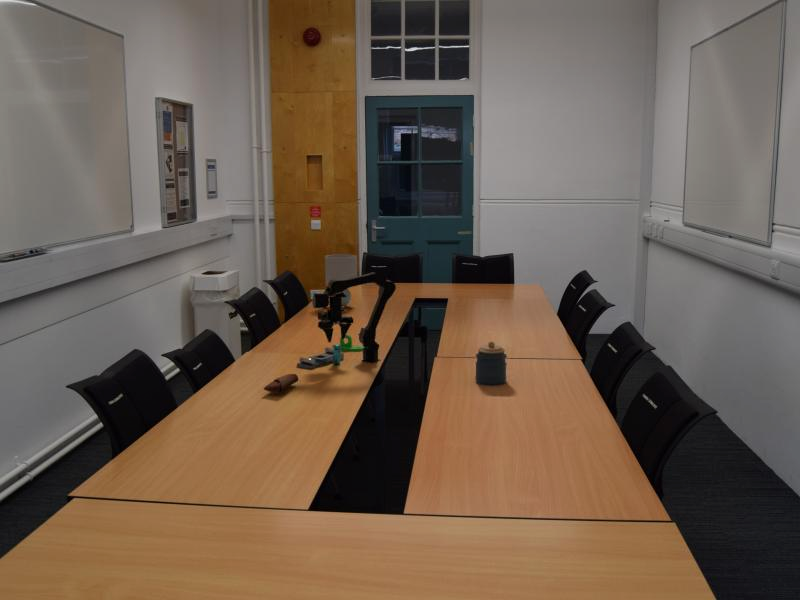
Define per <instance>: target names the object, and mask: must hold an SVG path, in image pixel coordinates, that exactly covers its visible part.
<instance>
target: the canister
mask: <svg viewBox="0 0 800 600" xmlns="http://www.w3.org/2000/svg"><path fill="white" fill-rule="evenodd" d="M487 343H488V344H486V345H485V344H484V345H481V346H480V347H478V348H477V353H476V354H475V357H476V361H475V377H474V378H475V379H474V380H475V383H476V384H478V385H482V386H489V387H490V386H491V387H494V386H495V387H496V386H502V385H505V384H506V382H507V364H508V363H507V362H506V359H507V356H508V355H507V354H506V353H505V352H506V350H505V348H503V347H502V346H501V345H495V342H494V341H489V342H487Z"/></svg>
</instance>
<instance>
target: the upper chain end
mask: <svg viewBox="0 0 800 600" xmlns="http://www.w3.org/2000/svg"><path fill="white" fill-rule="evenodd" d="M344 355H345V354H344V352H342V351H341V350H340V361H342V360H344V359H345V358H344V357H345V356H344ZM307 358H309V359H315V360H316V362H321V363H322V362H326V361H329V360H333V363H334V353H333V348H332V347H329V346H327V347H325V349H324V352H321V353H319V354H316V355H312V356H309V357H307Z"/></svg>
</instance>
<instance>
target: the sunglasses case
mask: <svg viewBox="0 0 800 600" xmlns="http://www.w3.org/2000/svg"><path fill="white" fill-rule="evenodd" d="M298 381H299V377H298V375H297V374H296V373H290V374H285V375H282V376H279V377H277V378H275V379H273V381H271V382H269V383H268V384H267V385H266V386H264V388H263V390H264V391H266V392H270V393H273V394H278V395H279V394H281V393H283V392H284V391H285V390H286V389H288V388H289V387H291V386H292V385H294V384H295V383H297V382H298Z"/></svg>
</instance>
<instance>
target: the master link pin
mask: <svg viewBox="0 0 800 600" xmlns="http://www.w3.org/2000/svg"><path fill="white" fill-rule="evenodd" d="M331 348H333V353H334V362H333V366H340V365H341V360H340V348H341V345H340V344H332V346H331Z"/></svg>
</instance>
